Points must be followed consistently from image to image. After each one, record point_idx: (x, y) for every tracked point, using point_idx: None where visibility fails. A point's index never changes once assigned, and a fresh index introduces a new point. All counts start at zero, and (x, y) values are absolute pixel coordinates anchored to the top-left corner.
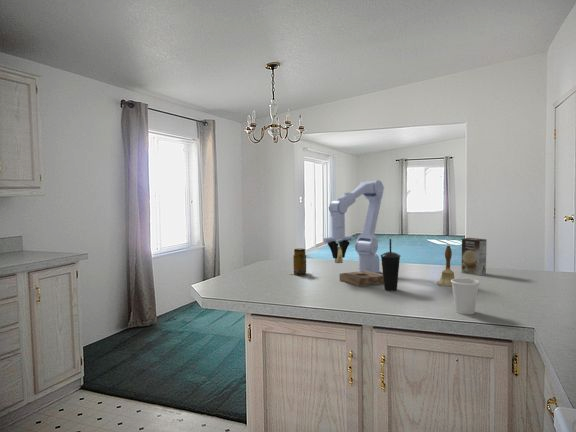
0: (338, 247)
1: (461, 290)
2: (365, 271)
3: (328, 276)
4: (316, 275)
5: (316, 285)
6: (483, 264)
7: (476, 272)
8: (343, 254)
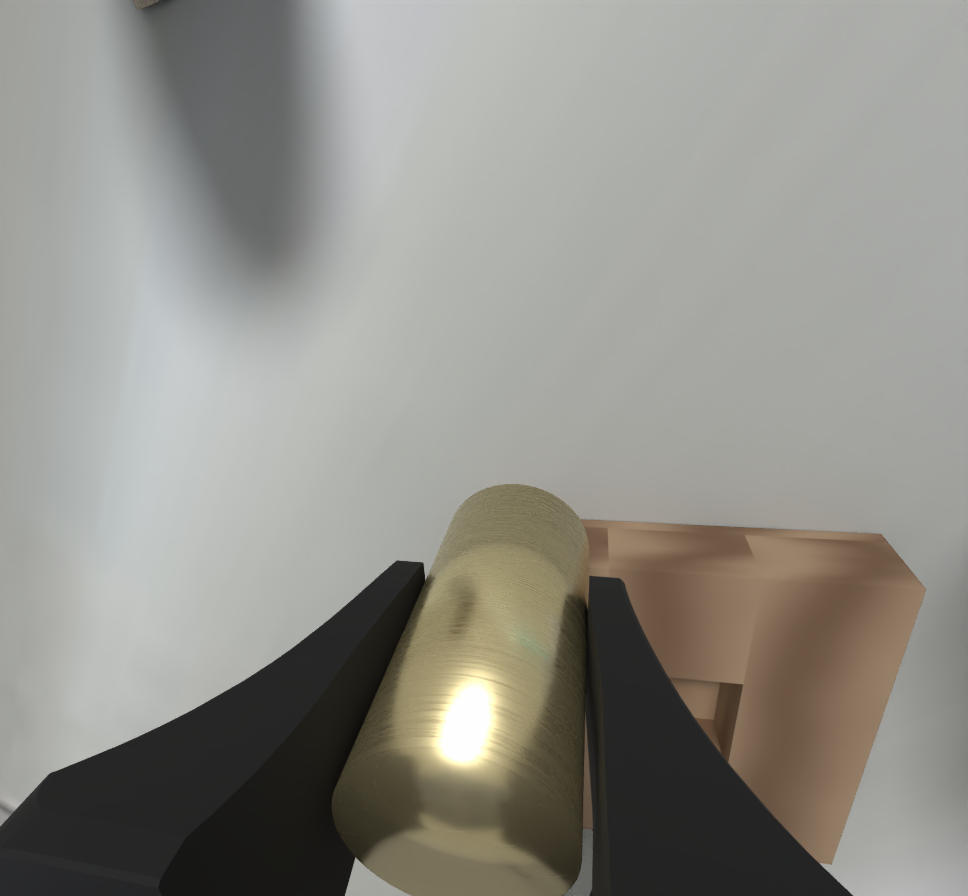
0: (401, 883)
1: None
2: (859, 636)
3: (501, 238)
4: (379, 60)
5: (203, 553)
6: None
7: None
8: (587, 711)
